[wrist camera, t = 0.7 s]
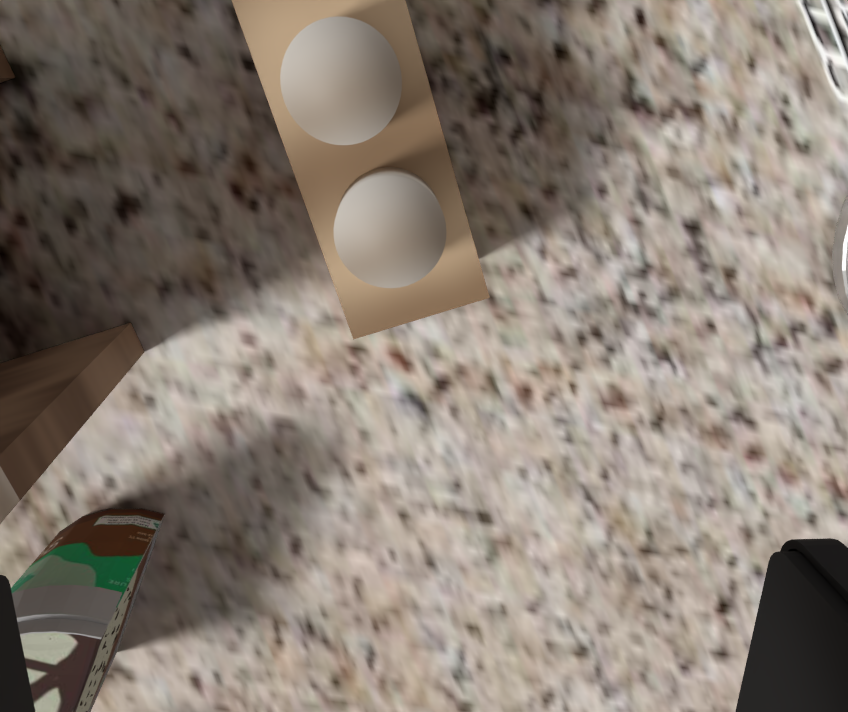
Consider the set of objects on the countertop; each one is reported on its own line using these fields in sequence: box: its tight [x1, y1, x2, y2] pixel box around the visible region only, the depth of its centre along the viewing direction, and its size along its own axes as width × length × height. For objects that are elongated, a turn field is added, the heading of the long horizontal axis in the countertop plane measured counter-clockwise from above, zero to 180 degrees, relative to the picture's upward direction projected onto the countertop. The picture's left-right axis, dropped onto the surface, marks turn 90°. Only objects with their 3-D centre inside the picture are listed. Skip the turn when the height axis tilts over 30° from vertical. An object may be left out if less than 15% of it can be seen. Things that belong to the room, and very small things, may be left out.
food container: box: [11, 509, 165, 712], centre depth 35 cm, size 12×6×10 cm, turn 157°
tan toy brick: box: [232, 0, 490, 339], centre depth 29 cm, size 13×6×8 cm, turn 17°
